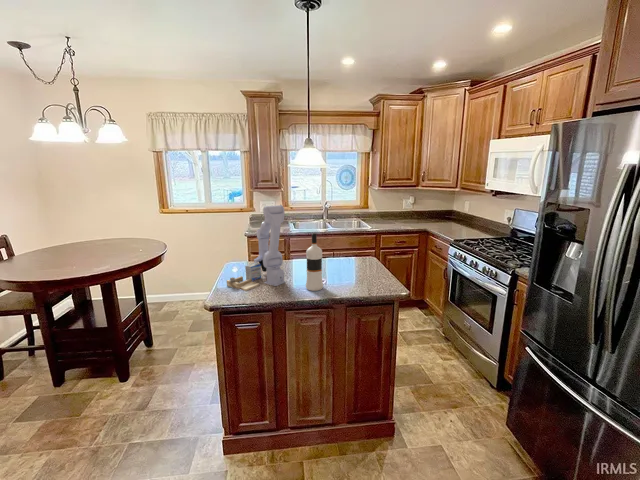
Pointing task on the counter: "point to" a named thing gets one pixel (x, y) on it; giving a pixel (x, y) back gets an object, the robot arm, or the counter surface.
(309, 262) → the vodka
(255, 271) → the medicine box
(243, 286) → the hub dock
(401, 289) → the counter surface
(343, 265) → the counter surface
